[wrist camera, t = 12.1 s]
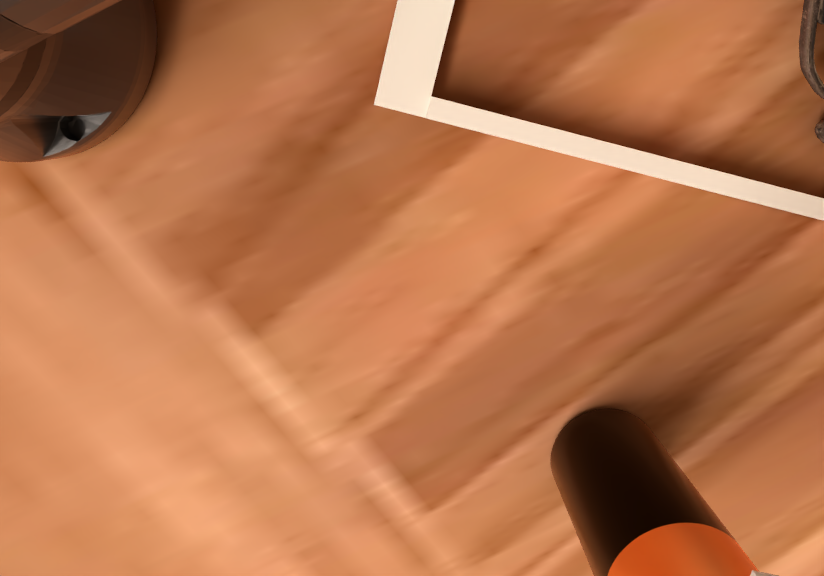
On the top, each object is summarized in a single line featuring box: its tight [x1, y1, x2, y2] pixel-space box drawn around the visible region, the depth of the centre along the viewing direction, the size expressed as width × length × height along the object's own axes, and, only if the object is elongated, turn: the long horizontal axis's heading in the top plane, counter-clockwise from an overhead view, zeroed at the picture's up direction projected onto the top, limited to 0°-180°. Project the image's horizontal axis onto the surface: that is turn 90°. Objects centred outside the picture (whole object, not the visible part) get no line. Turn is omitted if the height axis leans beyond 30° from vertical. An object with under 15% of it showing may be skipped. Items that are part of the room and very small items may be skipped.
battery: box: [551, 409, 759, 576], centre depth 36 cm, size 7×7×20 cm
